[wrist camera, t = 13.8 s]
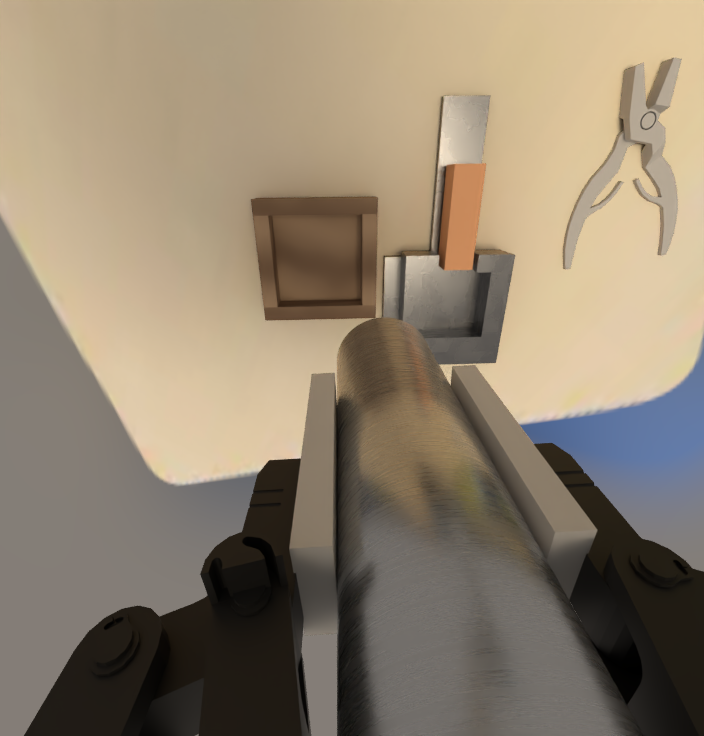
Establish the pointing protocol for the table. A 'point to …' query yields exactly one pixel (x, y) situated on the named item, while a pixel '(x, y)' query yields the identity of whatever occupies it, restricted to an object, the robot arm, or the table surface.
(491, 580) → the grey cylindrical peg
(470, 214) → the orange rectangular bar
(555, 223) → the table surface
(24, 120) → the table surface
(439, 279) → the socket
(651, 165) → the pliers
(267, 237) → the tray
